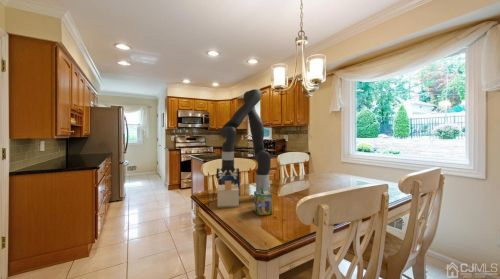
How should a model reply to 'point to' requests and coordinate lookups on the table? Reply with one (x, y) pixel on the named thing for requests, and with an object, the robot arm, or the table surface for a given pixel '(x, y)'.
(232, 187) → the carton lid
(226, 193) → the carton
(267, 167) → the robot arm
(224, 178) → the protein box
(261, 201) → the chalk box
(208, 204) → the table surface
